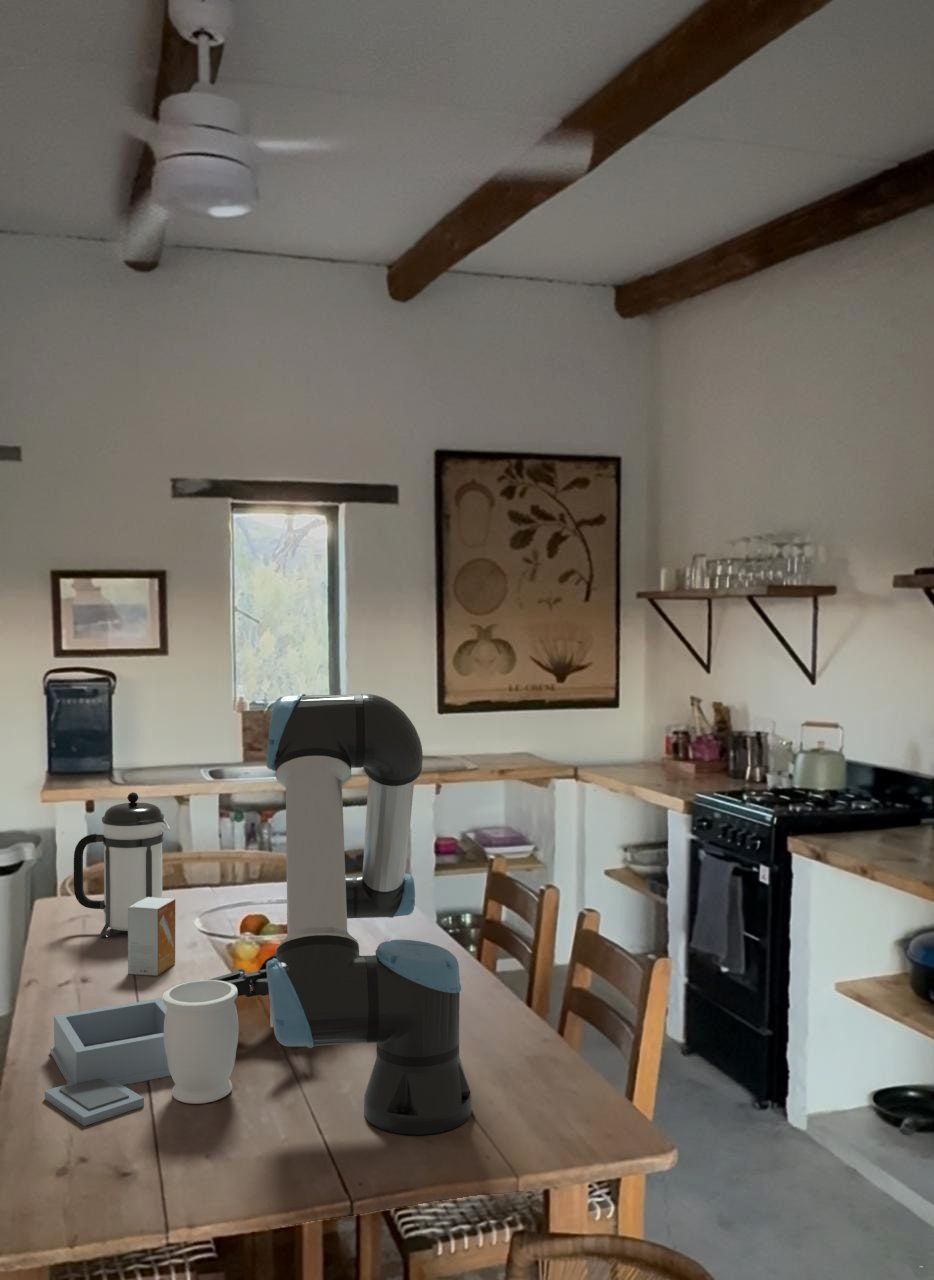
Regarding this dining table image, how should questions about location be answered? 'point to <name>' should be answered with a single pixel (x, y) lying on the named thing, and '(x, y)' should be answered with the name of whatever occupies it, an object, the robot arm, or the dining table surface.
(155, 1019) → the housing
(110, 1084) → the lid
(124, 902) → the coffee press
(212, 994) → the jar
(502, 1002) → the dining table surface
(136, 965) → the small box
